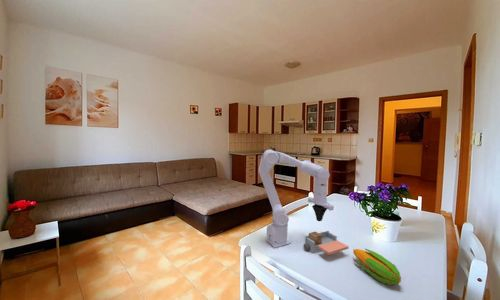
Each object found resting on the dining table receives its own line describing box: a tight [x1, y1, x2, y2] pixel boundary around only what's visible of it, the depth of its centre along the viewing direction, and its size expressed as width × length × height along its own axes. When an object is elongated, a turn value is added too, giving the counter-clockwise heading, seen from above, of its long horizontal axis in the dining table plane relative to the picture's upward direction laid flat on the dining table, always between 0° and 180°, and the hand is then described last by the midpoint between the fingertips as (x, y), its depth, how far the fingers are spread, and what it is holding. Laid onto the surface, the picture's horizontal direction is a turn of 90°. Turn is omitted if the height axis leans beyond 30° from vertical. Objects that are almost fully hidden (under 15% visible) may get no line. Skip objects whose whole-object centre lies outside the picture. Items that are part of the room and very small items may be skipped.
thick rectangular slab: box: [318, 240, 349, 256], centre depth 92 cm, size 11×1×6 cm
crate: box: [308, 231, 322, 246], centre depth 96 cm, size 4×4×4 cm
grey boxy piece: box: [303, 230, 338, 254], centre depth 98 cm, size 16×5×6 cm, turn 117°
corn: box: [352, 248, 402, 286], centre depth 81 cm, size 7×8×20 cm
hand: (319, 220), depth 103 cm, fingers closed
